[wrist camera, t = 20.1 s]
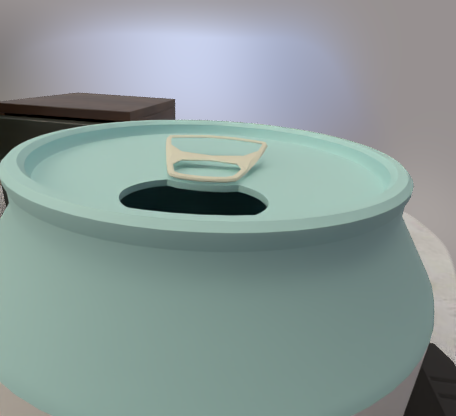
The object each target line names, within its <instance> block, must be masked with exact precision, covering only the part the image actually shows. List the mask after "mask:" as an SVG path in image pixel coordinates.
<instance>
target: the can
mask: <svg viewBox="0 0 456 416" xmlns="http://www.w3.org/2000/svg"><path fill="white" fill-rule="evenodd" d="M0 181H1V183H2V186H3V187H4V189H5V191H6V192H7V196H8V201H9V204H8V206H7V207H6V209H5V211H4V213H3V215H2V216H1V218H0V416H403V415H404V412H405V409H406V406H407V404H408V401H409V398H410V395H411V393H412V390H413V387H414V384H415V381H416V379H417V376H418V373H419V370H420V368H421V365H422V362H423V359H424V356H425V354H426V351H427V348H428V345H429V342H430V339H431V335H432V331H433V327H434V299H433V292H432V286H431V283H430V280H429V277H428V275H427V272H426V270H425V268H424V265H423V263H422V261H421V259H420V256H419V254H418V252H417V249H416V247H415V245H414V243H413V240H412V238H411V236H410V234H409V231H408V229H407V227H406V225H405V222H404V220H403V218H402V214H403V210H404V207H405V205H406V204H407V202H408V201H409V199H410V198H411V194H412V191H413V187H414V186H413V180H412V178H411V176H410V174H409V173H408V172H407V171H406V169H405V168H404V167H403V166H402V165H401V164H400V163H399V162H397V161H396V160H395V159H393V158H392V157H390V156H388V155H386V154H384V153H382V152H380V151H378V150H375V149H373V148H370V147H368V146H365V145H362V144H359V143H356V142H353V141H349V140H345V139H342V138H338V137H334V136H329V135H325V134H320V133H315V132H310V131H305V130H298V129H293V128H286V127H279V126H271V125H262V124H253V123H242V122H228V121H208V120H144V121H126V122H113V123H103V124H95V125H87V126H81V127H75V128H69V129H64V130H60V131H55V132H51V133H48V134H44V135H41V136H38V137H35V138H32V139H30V140H27V141H25V142H23V143H21V144H19V145H18V146H16V147H15V148H13V149H12V150H11V151H10V152H9V153H8V154H7V155H6V156H5V157H4V158H3V159H2V161H1V163H0Z"/></svg>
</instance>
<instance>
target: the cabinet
mask: <svg viewBox="0 0 456 416" xmlns="http://www.w3.org/2000/svg"><path fill="white" fill-rule="evenodd" d="M0 115H6V116H21V115H41V116H54V117H67V118H80V119H94V120H107V121H120V122H126V121H144V120H175V99H165V98H150V97H149V98H148V97H135V96H120V95H105V94H89V93H70V94H62V95H54V96H44V97H36V98H27V99H18V100H9V101H0Z"/></svg>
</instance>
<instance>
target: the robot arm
mask: <svg viewBox="0 0 456 416" xmlns="http://www.w3.org/2000/svg"><path fill="white" fill-rule="evenodd" d="M403 416H456V366H455V365H454V363H453V361H452V360H451V359H450V358H449V357H447V356H446V355H445V354H444V353H443V352H442V351H441V350H440V349H439V348H438V347H437V346H436V345H435V344H433V343H429V345H428V348H427V351H426V354H425V356H424V359H423V362H422V365H421V368H420V370H419V373H418V376H417V379H416V381H415V384H414V387H413V390H412V393H411V395H410V398H409V401H408V404H407V406H406V409H405V412H404V415H403Z"/></svg>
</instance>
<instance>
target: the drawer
mask: <svg viewBox="0 0 456 416" xmlns="http://www.w3.org/2000/svg"><path fill="white" fill-rule="evenodd" d="M113 122H120V121H107V120H94V119H80V118H67V117H54V116H41V115H21V116H6V115H0V163H1V161H2V159H3V158H4V157H5V156H6V155H7V154H8V153H9V152H10V151H11V150H12V149H13V148H15V147H16V146H18V145H19V144H21V143H23V142H25V141H27V140H30V139H32V138H35V137H38V136H41V135H44V134H48V133H51V132H55V131H60V130H64V129H69V128H75V127H81V126H87V125H95V124H103V123H113ZM0 185H2V183H1V181H0ZM2 189H3V194H4V199H5V203H6V207H7V206H8V204H9V201H8V196H7V192H6V191H5V189H4V187H3V186H2Z"/></svg>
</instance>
